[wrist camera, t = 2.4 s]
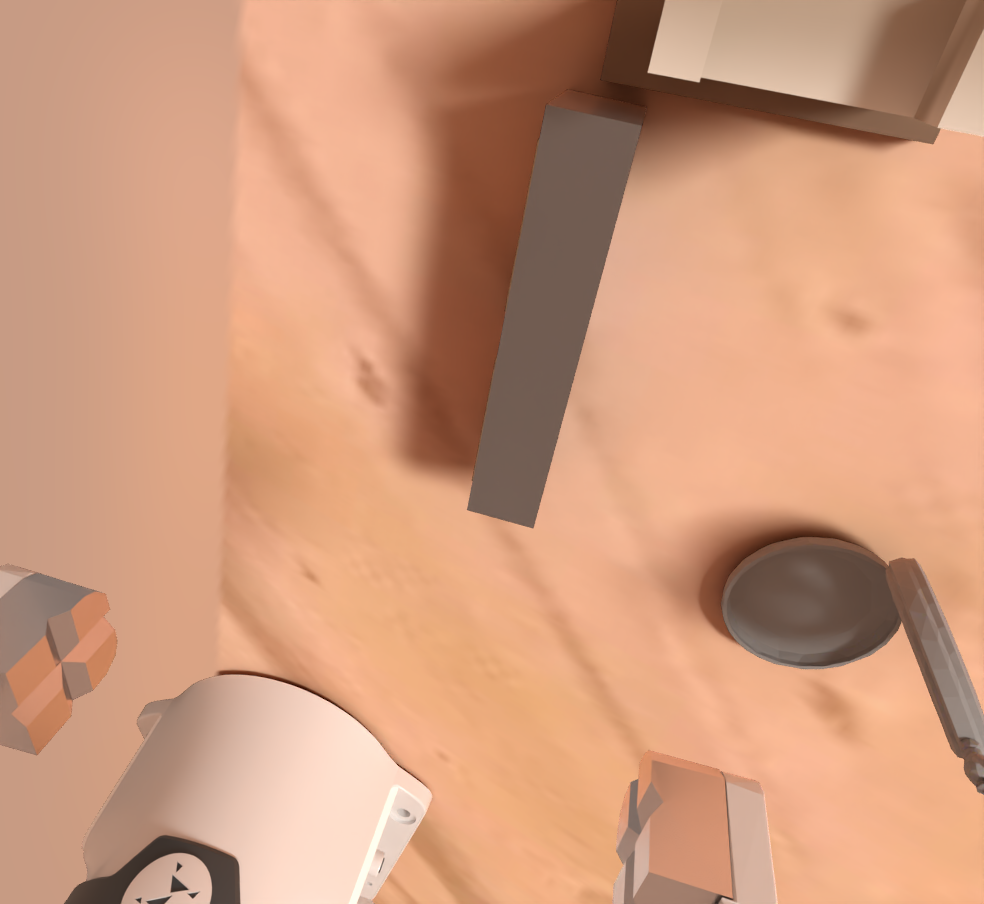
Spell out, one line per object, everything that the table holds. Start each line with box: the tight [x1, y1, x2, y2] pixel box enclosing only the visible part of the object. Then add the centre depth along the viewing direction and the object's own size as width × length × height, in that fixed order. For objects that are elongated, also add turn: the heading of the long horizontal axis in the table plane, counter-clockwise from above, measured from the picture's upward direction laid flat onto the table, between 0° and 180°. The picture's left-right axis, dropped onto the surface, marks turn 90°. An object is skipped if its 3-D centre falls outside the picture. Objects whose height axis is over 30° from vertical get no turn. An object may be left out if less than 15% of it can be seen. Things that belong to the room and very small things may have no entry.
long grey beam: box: [467, 89, 647, 528], centre depth 22 cm, size 13×2×4 cm, turn 170°
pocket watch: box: [721, 537, 984, 794], centre depth 23 cm, size 8×8×10 cm
